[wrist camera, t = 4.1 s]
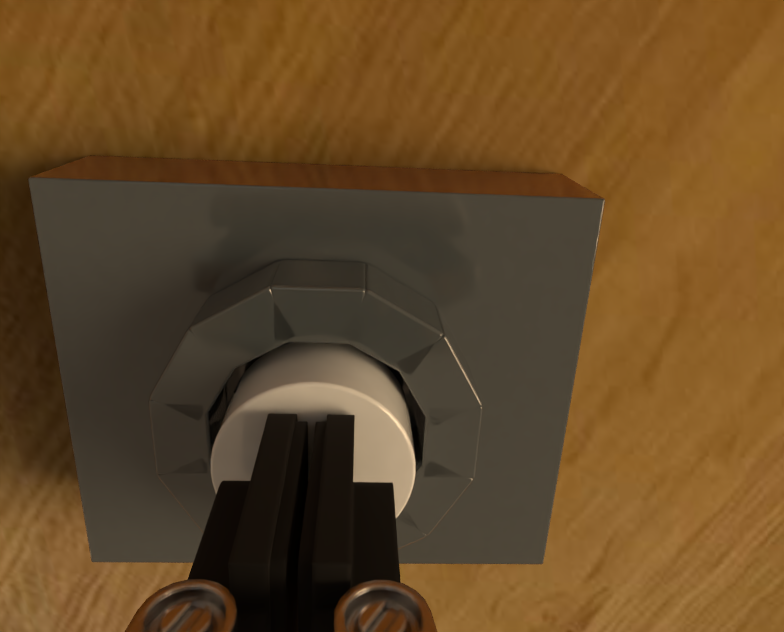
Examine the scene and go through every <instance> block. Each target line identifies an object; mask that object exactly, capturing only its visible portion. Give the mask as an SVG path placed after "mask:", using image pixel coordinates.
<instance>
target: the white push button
mask: <svg viewBox="0 0 784 632" xmlns="http://www.w3.org/2000/svg"><path fill="white" fill-rule="evenodd" d="M269 413H274V414H297V419H298V421H307V422H308V479H309V471H310V464H311V456H312V448H313V440H314V433H315V425H316V422H326V421H327V414H331V415H355V423H354V467H353V482H393V488H394V501H395V515H396V518H397V517H398V516H399V515H400V513H401V512H402V510H403V509H404V507H405V506H406V504H407V502H408V500H409V497H410V495H411V493H412V489H413V486H414V482H415V475H416V460H415V453H414V445H413V437H412V430H411V422H410V414H409V408H408V402H407V399H406V396H405V393H404V391H403V389H402V387H401V385H400V383H399V381H398V380H397V378H396V377H395V375H394V374H393V373H392V372H391V371H390V369H389V368H388V367H387V366H386V365H385V364H384V363H382V362H381V361H379V360H377V359H375V358H373V357H372V356H370V355H368V354H366V353H364V352H363V351H361V350H359V349H357V348H355V347H354V346H352V345H350V344H337V343H295V342H292V343H289V344H285V345H283V346H280V347H278V348H276V349H273V350H271V351H270V352H268V353H266V354H265V355H263V356H262V357H260V358H259V359H258V360H256V361H255V362H254V363H253V364H252V365H251V366H250V367H249V368H248V369H247V370H246V371H245V373H244V374H243V375H242V377H241V378H240V380H239V382H238V383H237V385H236V387H235V389H234V392H233V394H232V397H231V400H230V402H229V405H228V407H227V410H226V413H225V415H224V418H223V420H222V423H221V425H220V428H219V431H218V433H217V436H216V439H215V442H214V445H213V447H212V453H211V459H210V471H211V478H212V483H213V486H214V489H215V493H216V494H217V491H218V488H219V486H220V483H221V482H222V481H223V480H224V481H250V480H251V476H252V472H253V468H254V465H255V461H256V457H257V453H258V450H259V446H260V442H261V438H262V435H263V431H264V427H265V423H266V420H267V416H268V414H269Z"/></svg>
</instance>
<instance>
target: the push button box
mask: <svg viewBox="0 0 784 632" xmlns="http://www.w3.org/2000/svg"><path fill="white" fill-rule="evenodd" d="M28 181H29V187H30V194H31V200H32V206H33V212H34V218H35V224H36V230H37V236H38V242H39V248H40V254H41V260H42V266H43V272H44V278H45V284H46V290H47V296H48V302H49V308H50V314H51V320H52V326H53V332H54V338H55V344H56V350H57V356H58V362H59V368H60V374H61V380H62V386H63V392H64V398H65V404H66V410H67V416H68V422H69V428H70V434H71V440H72V446H73V452H74V458H75V464H76V471H77V477H78V483H79V489H80V495H81V501H82V507H83V513H84V519H85V525H86V531H87V537H88V543H89V549H90V555H91V561H92V562H162V563H193V562H194V560H195V557H196V554H197V551H198V548H199V545H200V542H201V539H202V536H203V533H204V530H205V527H206V524H207V521H208V518H209V515H210V512H211V509H212V506H213V503H214V500H215V497H216V493H215V489H214V486H213V483H212V478H211V471H210V459H211V453H212V447H213V445H214V442H215V439H216V436H217V433H218V431H219V428H220V425H221V423H222V420H223V418H224V415H225V413H226V410H227V407H228V405H229V402H230V400H231V397H232V394H233V392H234V389H235V387H236V385H237V383H238V382H239V380H240V378H241V377H242V375H243V374H244V373H245V371H246V370H247V369H248V368H249V367H250V366H251V365H252V364H253V363H254V362H255V361H256V360H258V359H259V358H260V357H262V356H263V355H265V354H266V353H268V352H270V351H271V350H273V349H276V348H278V347H280V346H283V345H285V344H289V343H292V342H295V343H337V344H350V345H352V346H354V347H355V348H357V349H359V350H361V351H363V352H364V353H366V354H368V355H370V356H372V357H373V358H375V359H377V360H379V361H381V362H382V363H384V364H385V365H386V366H387V367H388V368H389V369H390V371H391V372H392V373H393V374H394V375H395V377H396V378H397V380H398V381H399V383H400V385H401V387H402V389H403V391H404V393H405V396H406V399H407V402H408V408H409V414H410V422H411V430H412V437H413V445H414V453H415V460H416V475H415V482H414V486H413V489H412V493H411V495H410V497H409V500H408V502H407V504H406V506H405V507H404V509H403V510H402V512H401V513H400V515H399V516H398V517H397V518H396V529H397V543H398V557H399V564H543V560H544V555H545V549H546V543H547V537H548V531H549V525H550V519H551V514H552V508H553V502H554V496H555V490H556V484H557V478H558V473H559V467H560V461H561V455H562V449H563V443H564V437H565V432H566V426H567V420H568V414H569V408H570V402H571V396H572V391H573V385H574V379H575V373H576V367H577V361H578V355H579V349H580V344H581V338H582V332H583V326H584V320H585V314H586V308H587V303H588V297H589V291H590V285H591V279H592V273H593V267H594V262H595V256H596V250H597V244H598V238H599V232H600V226H601V221H602V215H603V209H604V203H605V199H604V198H602V197H600V196H598V195H597V194H595V193H593V192H592V191H590V190H588V189H587V188H585V187H583V186H581V185H580V184H578V183H576V182H575V181H573V180H571V179H569V178H568V177H566V176H564V175H563V174H552V173H527V172H502V171H476V170H451V169H425V168H400V167H375V166H349V165H324V164H299V163H273V162H248V161H223V160H197V159H172V158H146V157H121V156H96V155H90V156H87V157H84V158H82V159H79V160H76V161H73V162H71V163H68V164H65V165H62V166H59V167H57V168H54V169H51V170H48V171H45V172H43V173H40V174H37V175H34V176H31V177H29V178H28Z"/></svg>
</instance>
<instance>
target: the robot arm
mask: <svg viewBox="0 0 784 632" xmlns="http://www.w3.org/2000/svg"><path fill="white" fill-rule="evenodd" d="M354 423H355V415H331V414H327V421H326V422H316V425H315V433H314V440H313V448H312V456H311V464H310V471H309V479H308V422H307V421H298V419H297V414H274V413H269V414H268V416H267V420H266V423H265V427H264V431H263V435H262V438H261V442H260V446H259V450H258V453H257V457H256V461H255V465H254V468H253V472H252V476H251V480H250V481H224V480H223V481H222V482H221V483H220V486H219V488H218V491H217V494H216V497H215V500H214V503H213V506H212V509H211V512H210V515H209V518H208V521H207V524H206V527H205V530H204V533H203V536H202V539H201V542H200V545H199V548H198V551H197V554H196V557H195V560H194V562H193V565H192V568H191V571H190V574H189V577H188V580H184V581H180V582H176V583H173V584H170V585H168V586H166V587H164V588H162V589H160V590H158V591H157V592H155V593H154V594H153V595H152V596H150V597H149V598H148V599H146V601H145V602H144V603H143V604H142V606H141V607H140V608H139V609H138V610H137V612H136V614H135V615H134V617H133V619H132V620H131V622H130V624H129V625H128V627H127V629H126V630H125V632H437V629H436V626H435V623H434V620H433V616H432V613H431V610H430V608H429V606H428V605H427V603H426V601H425V599H424V598H423V597H422V596H421V595H420V594H419V593H418V592H417V591H416V590H414V589H412V588H411V587H409V586H407V585H405V584H403V583H400V571H399V557H398V543H397V529H396V515H395V501H394V488H393V482H353V467H354Z"/></svg>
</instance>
